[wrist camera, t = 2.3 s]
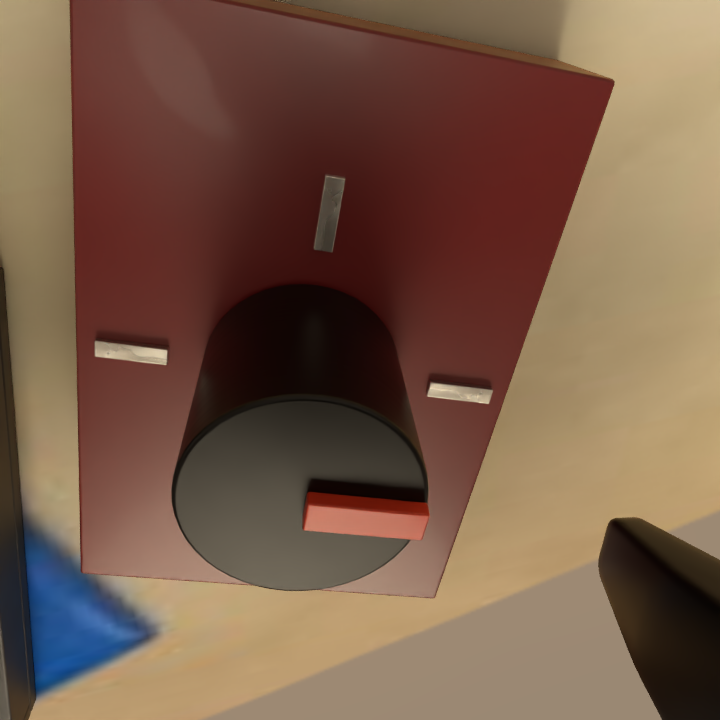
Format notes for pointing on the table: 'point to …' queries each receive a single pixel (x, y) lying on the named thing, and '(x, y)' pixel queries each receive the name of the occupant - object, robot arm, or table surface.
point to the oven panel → (303, 233)
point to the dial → (300, 444)
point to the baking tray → (12, 555)
